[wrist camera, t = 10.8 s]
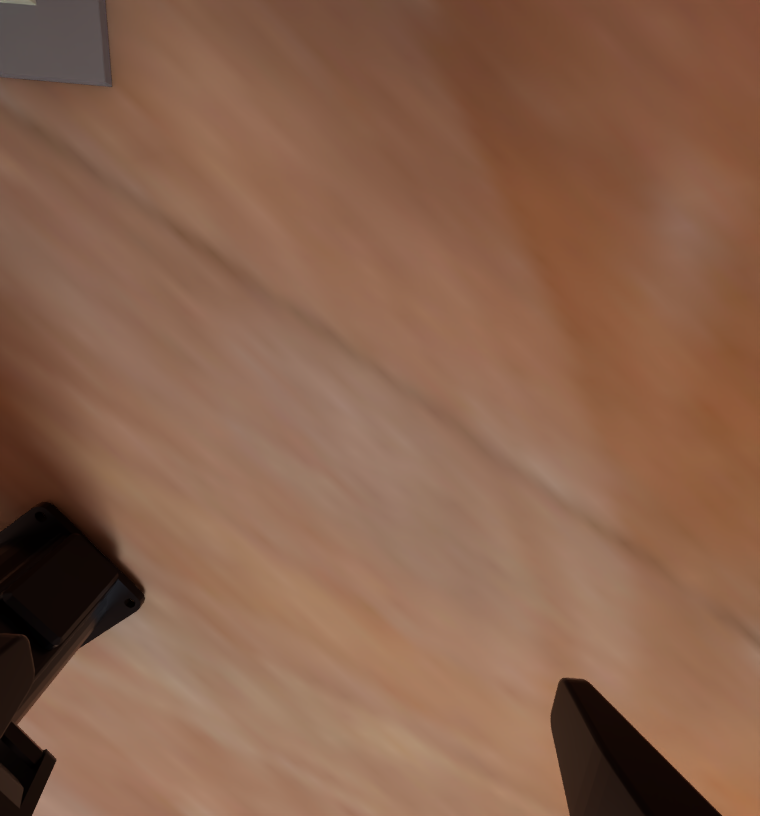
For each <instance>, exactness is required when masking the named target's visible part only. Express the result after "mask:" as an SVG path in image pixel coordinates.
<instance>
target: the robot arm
mask: <svg viewBox="0 0 760 816" xmlns="http://www.w3.org/2000/svg"><path fill="white" fill-rule="evenodd" d="M42 512H43V513H44V514H45V515H46V517H45V516H44V515H43V514H42ZM130 599H132V600H134V602H133V601H131V600H130ZM144 600H145V597H144V594H143V593H142V592H141V591H140V590H139V589H138V588H137V587H136V586H135V585H134V584H133V583H132V582H131V581H130V580H129V579H128V578H127V577H126V576H125V575H124V574H123V573H122V572H121V571H120V570H119V569H118V568H117V567H116V566H115V565H114V564H113V563H112V562H111V561H110V560H109V559H108V558H107V557H106V556H105V555H104V554H103V553H102V552H101V551H100V550H99V549H98V548H97V547H96V546H95V545H94V544H93V543H92V542H90V541H89V540H88V539H87V538H86V537H85V536H84V535H83V534H82V533H81V532H80V531H79V530H78V529H77V528H76V527H75V526H74V525H73V524H72V523H71V522H70V521H69V520H68V519H67V518H66V517H65V516H64V515H63V514H62V513H61V512H60V511H59V510H58V509H57V508H56V507H55V506H54V505H52V504H51V503H48V502H42V503H40V504H38V505H36V506H35V507H33V508H32V509H31V510H29V511H28V512H27V513H25V514H24V515H23V516H21V517H20V518H19V519H17V520H16V521H15V522H13V523H12V524H11V525H9V526H8V527H7V528H5V529H4V530H3V531H1V532H0V816H32V814H33V812H34V809H35V807H36V805H37V803H38V801H39V798H40V796H41V794H42V792H43V789H44V787H45V785H46V783H47V780H48V778H49V776H50V774H51V771H52V769H53V767H54V765H55V762H56V758H55V757H54V756H53V755H52V754H51V753H50V752H49V751H48V750H47V749H45V750H42V749H41V748H40V747H39V746H38V745H37V744H36V743H35V742H34V741H33V740H32V739H31V738H30V737H29V736H28V735H27V734H26V733H25V732H24V731H23V730H22V729H21V728H20V727H19V726H18V725H17V724H18V723H19V722H20V721H21V719H22V718H23V717H24V716H25V714H26V713H27V712H28V711H29V709H30V708H31V707H32V706H33V705H34V703H35V702H36V701H37V700H38V698H39V697H40V696H41V695H42V693H43V692H44V691H45V690H46V688H47V687H48V686H49V685H50V683H51V682H52V681H53V680H54V678H55V677H56V676H57V675H58V674H59V672H60V671H61V670H62V669H63V667H64V666H65V665H66V664H67V662H68V661H69V660H70V659H71V657H72V656H73V655H74V654H75V652H76V651H77V650H78V649H79V648H80V647H82V646H84V645H85V644H87V643H88V642H90V641H91V640H93V639H94V638H96V637H97V636H99V635H100V634H102V633H104V632H105V631H107V630H108V629H110V628H111V627H113V626H114V625H116V624H117V623H119V622H120V621H122V620H124V619H125V618H127V617H128V616H130V615H131V614H133V613H134V612H136V611H137V610H138V609H139V608H140V607H141V606H142V604H143V603H144ZM551 729H552V734H553V739H554V744H555V748H556V753H557V758H558V762H559V767H560V772H561V776H562V781H563V786H564V790H565V795H566V800H567V804H568V809H569V814H570V816H722V815H721V814H720V813H719V812H718V811H717V810H716V809H715V808H714V807H713V806H712V805H711V804H710V803H709V802H708V801H707V800H706V799H705V798H704V797H703V796H702V795H701V794H700V793H699V792H698V791H697V790H696V789H695V788H694V787H693V786H692V785H691V784H690V783H689V782H688V781H687V780H686V779H685V778H684V777H683V776H682V775H681V774H680V773H679V772H678V771H677V770H676V769H675V768H674V767H673V766H672V765H671V764H670V763H669V762H668V761H667V760H666V759H665V758H664V757H663V756H662V755H661V754H660V753H659V752H658V751H657V750H656V749H655V748H654V747H653V746H652V745H651V744H650V743H649V742H648V741H647V740H646V739H645V738H644V737H643V736H642V735H641V734H640V733H639V732H638V731H637V730H636V729H635V728H634V727H633V726H632V725H631V724H630V723H629V722H628V721H627V720H626V719H625V718H624V717H623V716H622V715H621V714H620V713H619V712H618V711H617V710H616V709H615V708H614V707H613V706H612V705H611V704H610V703H609V702H608V701H607V700H606V699H605V698H604V697H603V696H602V695H601V694H600V693H599V692H598V691H597V690H596V689H595V688H594V687H593V686H592V685H591V684H590V683H589V682H588V681H586V680H584V679H576V678H562V679H561V680H560V681H559V683H558V687H557V691H556V695H555V699H554V703H553V707H552V711H551Z"/></svg>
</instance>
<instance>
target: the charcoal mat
mask: <svg viewBox="0 0 760 816" xmlns="http://www.w3.org/2000/svg"><path fill="white" fill-rule="evenodd" d="M0 77H6V78H18V79H29V80H41V81H52V82H63V83H75V84H86V85H98V86H109V87H112V79H111V66H110V53H109V41H108V28H107V15H106V3H105V0H36V5H26V4H14V3H2V2H0Z"/></svg>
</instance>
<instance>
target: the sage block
mask: <svg viewBox="0 0 760 816" xmlns="http://www.w3.org/2000/svg"><path fill="white" fill-rule="evenodd" d="M0 2H2V3H14V4H26V5H36V0H0Z"/></svg>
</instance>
